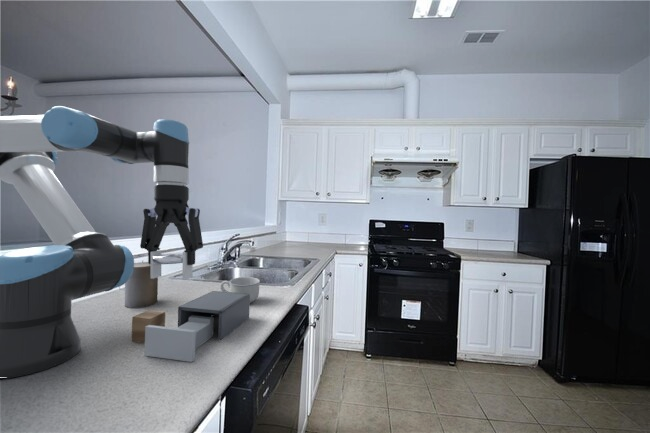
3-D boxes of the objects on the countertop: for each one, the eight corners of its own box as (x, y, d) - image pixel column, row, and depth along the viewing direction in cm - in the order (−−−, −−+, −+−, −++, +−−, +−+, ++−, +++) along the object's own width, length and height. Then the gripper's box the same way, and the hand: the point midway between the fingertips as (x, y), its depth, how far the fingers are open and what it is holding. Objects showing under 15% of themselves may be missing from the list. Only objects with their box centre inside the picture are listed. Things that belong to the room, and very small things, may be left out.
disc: (154, 265, 63) (154, 257, 63) (151, 261, 69) (151, 254, 69) (192, 262, 68) (192, 255, 68) (186, 258, 74) (186, 251, 74)
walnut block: (149, 343, 68) (150, 318, 68) (131, 341, 68) (132, 316, 68) (164, 334, 72) (165, 311, 72) (147, 332, 73) (148, 310, 73)
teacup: (263, 298, 107) (263, 277, 107) (253, 307, 96) (253, 284, 96) (228, 296, 108) (228, 275, 108) (214, 305, 98) (215, 282, 98)
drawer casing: (221, 340, 70) (222, 310, 70) (177, 335, 72) (178, 306, 72) (249, 318, 86) (249, 293, 86) (212, 314, 88) (213, 290, 88)
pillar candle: (162, 299, 102) (163, 258, 102) (149, 307, 92) (150, 262, 92) (133, 299, 100) (134, 258, 100) (117, 308, 91) (118, 262, 91)
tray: (191, 361, 59) (192, 332, 59) (144, 355, 61) (145, 326, 61) (222, 337, 72) (223, 312, 72) (182, 332, 74) (183, 308, 74)
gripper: (218, 186, 71) (219, 275, 70) (146, 187, 74) (146, 273, 74) (201, 182, 63) (201, 282, 63) (121, 184, 66) (121, 279, 66)
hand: (171, 277), depth 68 cm, fingers closed on disc, 8 cm apart
